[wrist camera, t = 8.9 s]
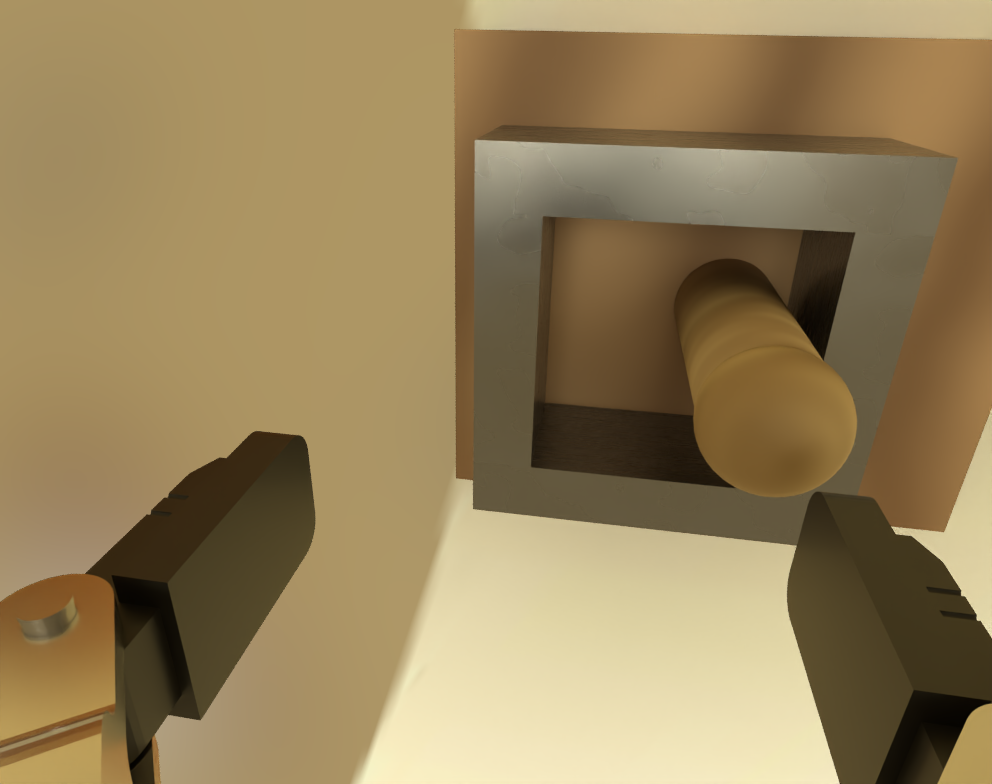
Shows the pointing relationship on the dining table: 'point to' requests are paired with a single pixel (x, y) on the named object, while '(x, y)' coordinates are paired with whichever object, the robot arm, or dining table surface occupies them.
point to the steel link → (689, 200)
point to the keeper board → (747, 253)
